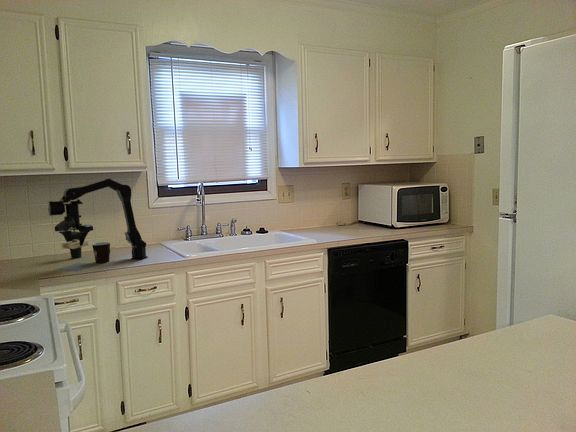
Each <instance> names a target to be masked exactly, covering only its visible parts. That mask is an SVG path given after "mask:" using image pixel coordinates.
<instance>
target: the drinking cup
mask: <svg viewBox="0 0 576 432" xmlns="http://www.w3.org/2000/svg"><path fill="white" fill-rule="evenodd" d="M77 232H78V230H72V234H71V241H72V240H74V239H77V240H79V235H78V234H77ZM69 252H70V257H71V259H73V260H75V259H77V260H78V259H80V258H82V247H79V248H75V249H69Z"/></svg>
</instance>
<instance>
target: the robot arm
mask: <svg viewBox="0 0 576 432" xmlns="http://www.w3.org/2000/svg"><path fill="white" fill-rule="evenodd" d="M104 188H109V189H111V190H113V191H115V192H116V194H117V196H118V199H119V200H120V202H121V205H122V209H123V214H124V218H125V222H126V228H127V229H126V230H127V231H124V236H125V240H126V241H127V243H128V244H130V245H131V258H130V260H139V261H140V260H144V259H147V258H149V256H147V252H146V251H147V248H146V247H147V242H146V241H144V240H143V238H142V237H141V233H140V232H139V230H138V228H137V225H136V221H135V215H134V210H133V207H132V202H131V200H132V188H131V186H130V185H128V184H122V183H120V182H118V181H115V180H113V179H112V178H104V179H103V180H102V179H101V180H99V181H95V182H92V183H90V184H85V185H83V186H73V187H68V188H65V189H64V191H63V196H62V197H61V198H60V200H57V201H53V200H51V201H50V200H49V201H48V207H47V211H48V212H47V213H48V215H49V217H50V216H51V217H52V216H62V215H64V214H65V215H66V216H64V218H63V220H62V221H60V222H59V223H57V224H56V225H55V226H54V232H58V233H59V234H61V235H62V236H63V238H64V239H65V242H70V241H71V234H72V232H73V230H75V231H77V234H78V235H79V242H80V246H82V245H83V243H84V240H86V237H87V236H88V234H89V233H90V231H91V232H93V231H94V226H93V225H92V224H83V223H81V222H80V218H82V214H81V215H80V208H79V205H82V204H83V203H84V202H82V201H81V199H79V198H81V197H83V196H85V195H86V194H88V193H92V192H96V191H99V190H102V189H104Z"/></svg>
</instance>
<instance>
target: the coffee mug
mask: <svg viewBox="0 0 576 432" xmlns="http://www.w3.org/2000/svg"><path fill="white" fill-rule="evenodd" d="M91 246H92V250H93V255H94V261H95V264H107V263H109V262H110V258H111V257H110V255H111V242H109V241H101V242H100V241H99V242H94V243H92V245H91Z"/></svg>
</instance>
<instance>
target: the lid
mask: <svg viewBox="0 0 576 432" xmlns="http://www.w3.org/2000/svg"><path fill="white" fill-rule="evenodd" d="M60 244H61V249H67V250H68V249H69V250H70V249H75V248H79V247H81V248H82V247H86V246H89V239H88V240H87V239H85V240H84V243H83V245H82V246H80V242H79V240H77V239H74V240H72V241H70V242H66V241H64V242H62V243H60Z"/></svg>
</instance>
